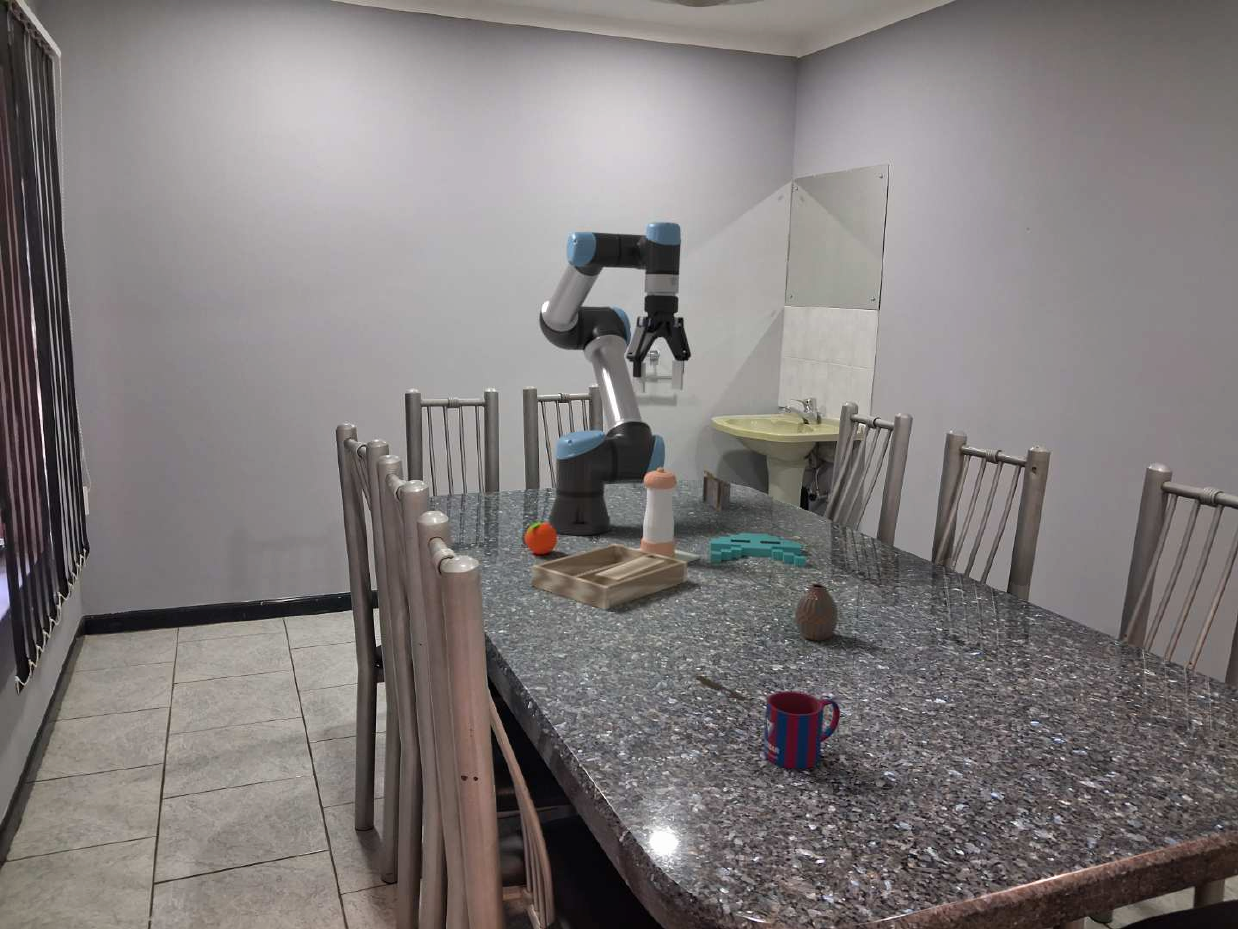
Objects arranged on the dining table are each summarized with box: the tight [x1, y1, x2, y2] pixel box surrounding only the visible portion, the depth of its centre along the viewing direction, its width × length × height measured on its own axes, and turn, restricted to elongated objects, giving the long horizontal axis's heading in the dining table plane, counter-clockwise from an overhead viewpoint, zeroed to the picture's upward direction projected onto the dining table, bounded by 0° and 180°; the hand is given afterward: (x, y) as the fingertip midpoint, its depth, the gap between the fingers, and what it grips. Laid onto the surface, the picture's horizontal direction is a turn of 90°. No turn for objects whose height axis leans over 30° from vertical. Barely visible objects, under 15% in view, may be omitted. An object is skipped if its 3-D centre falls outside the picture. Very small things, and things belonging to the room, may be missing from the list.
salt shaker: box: [640, 467, 678, 558], centre depth 192 cm, size 7×7×19 cm
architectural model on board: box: [702, 469, 732, 511], centre depth 246 cm, size 11×3×10 cm, turn 20°
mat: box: [637, 547, 701, 563], centre depth 194 cm, size 13×13×1 cm
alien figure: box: [709, 532, 807, 568], centre depth 201 cm, size 20×2×20 cm
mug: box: [763, 691, 841, 770], centre depth 109 cm, size 7×10×7 cm
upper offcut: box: [595, 556, 665, 586], centre depth 171 cm, size 5×16×2 cm, turn 144°
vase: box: [794, 583, 839, 641], centre depth 149 cm, size 7×7×9 cm
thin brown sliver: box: [695, 675, 749, 702], centre depth 128 cm, size 12×3×1 cm, turn 34°
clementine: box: [524, 521, 558, 555], centre depth 194 cm, size 8×7×7 cm
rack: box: [530, 543, 688, 611], centre depth 175 cm, size 19×24×4 cm
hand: (658, 390), depth 202 cm, fingers open, 13 cm apart
